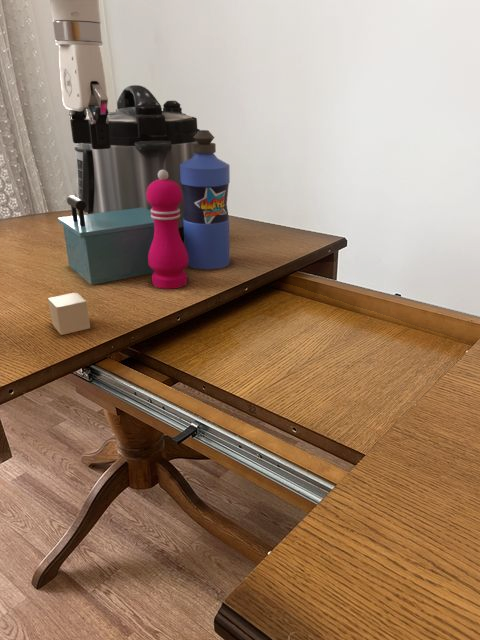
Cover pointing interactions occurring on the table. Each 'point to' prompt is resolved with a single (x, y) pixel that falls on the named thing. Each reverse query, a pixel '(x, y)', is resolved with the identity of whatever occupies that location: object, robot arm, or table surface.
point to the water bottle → (206, 205)
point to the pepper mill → (166, 234)
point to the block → (69, 313)
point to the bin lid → (104, 220)
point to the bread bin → (110, 254)
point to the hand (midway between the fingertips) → (91, 145)
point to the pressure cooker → (135, 153)
